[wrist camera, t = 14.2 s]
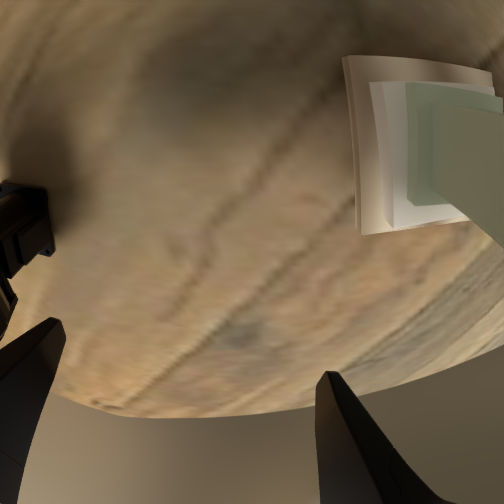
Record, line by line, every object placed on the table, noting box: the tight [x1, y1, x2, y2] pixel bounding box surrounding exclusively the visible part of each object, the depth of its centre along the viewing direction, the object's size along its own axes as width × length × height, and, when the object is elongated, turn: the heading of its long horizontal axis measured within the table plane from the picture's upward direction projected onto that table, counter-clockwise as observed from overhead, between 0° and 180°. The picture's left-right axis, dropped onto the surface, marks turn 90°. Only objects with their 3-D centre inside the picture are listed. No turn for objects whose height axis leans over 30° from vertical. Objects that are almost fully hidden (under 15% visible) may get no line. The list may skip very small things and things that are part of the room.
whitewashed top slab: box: [369, 81, 495, 229], centre depth 15 cm, size 9×9×2 cm
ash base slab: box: [341, 55, 493, 235], centre depth 17 cm, size 12×12×2 cm
